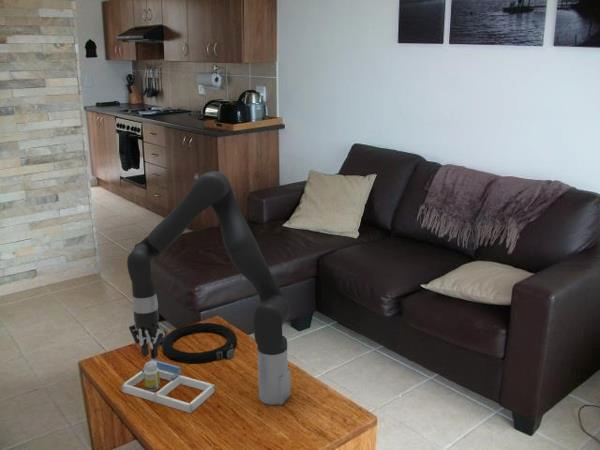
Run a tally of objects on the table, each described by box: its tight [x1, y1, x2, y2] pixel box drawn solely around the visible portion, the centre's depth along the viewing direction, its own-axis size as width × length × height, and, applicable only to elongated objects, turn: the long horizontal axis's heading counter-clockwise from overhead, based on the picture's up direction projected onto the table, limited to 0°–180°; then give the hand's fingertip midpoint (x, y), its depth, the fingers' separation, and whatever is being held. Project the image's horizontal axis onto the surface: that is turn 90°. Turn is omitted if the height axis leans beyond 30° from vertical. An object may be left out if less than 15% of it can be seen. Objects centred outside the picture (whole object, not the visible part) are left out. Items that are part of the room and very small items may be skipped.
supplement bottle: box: [143, 360, 161, 392], centre depth 190 cm, size 5×5×8 cm
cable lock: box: [161, 322, 238, 364], centre depth 217 cm, size 28×4×30 cm
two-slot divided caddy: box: [121, 358, 216, 414], centre depth 188 cm, size 27×14×5 cm, turn 64°
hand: (149, 356), depth 188 cm, fingers open, 3 cm apart
